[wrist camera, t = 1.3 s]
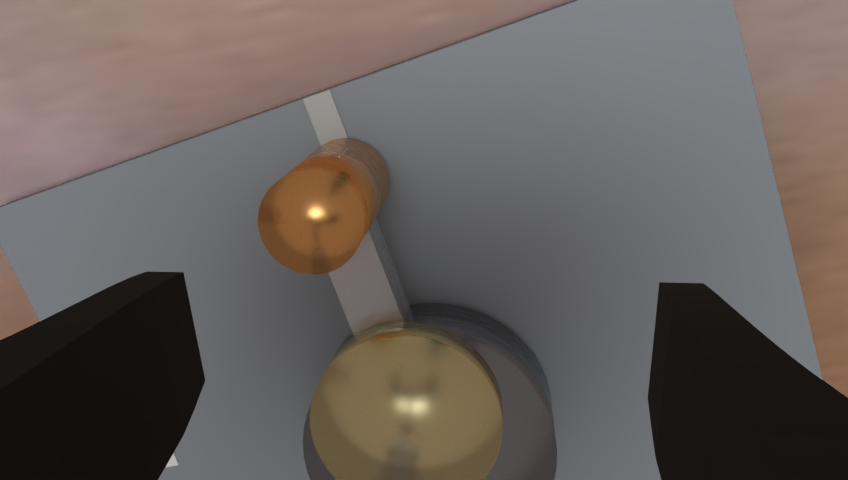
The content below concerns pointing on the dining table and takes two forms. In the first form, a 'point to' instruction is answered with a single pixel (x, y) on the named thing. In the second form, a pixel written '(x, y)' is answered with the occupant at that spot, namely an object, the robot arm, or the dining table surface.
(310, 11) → the dining table surface
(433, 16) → the dining table surface
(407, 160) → the stand
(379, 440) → the crank
